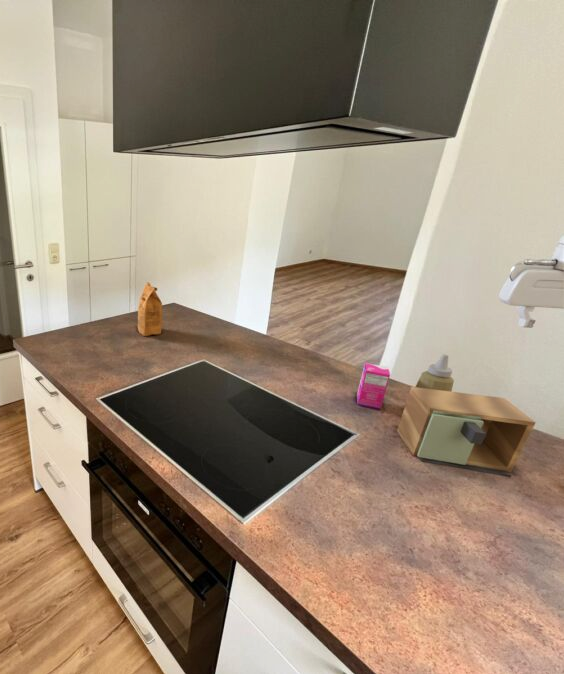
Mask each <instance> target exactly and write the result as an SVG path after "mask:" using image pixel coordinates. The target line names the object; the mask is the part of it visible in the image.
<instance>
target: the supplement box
mask: <svg viewBox="0 0 564 674" xmlns="http://www.w3.org/2000/svg"><path fill="white" fill-rule="evenodd" d="M363 365H364V366H363V369H362V374H361V377H360V381H359V386H358V389H357V393H356V402H357V403H356V404H357V406H360V407H364V408H368V409H373V410H377V411H381V410H382V406H383V403H384V399H385V395H386V392H387V389H388V384H389V381H390V378H391V373H390V368H389V366H387V365H379V364H374V363H368V362H365V363H364V364H363Z"/></svg>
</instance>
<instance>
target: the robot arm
mask: <svg viewBox="0 0 564 674" xmlns="http://www.w3.org/2000/svg"><path fill="white" fill-rule="evenodd" d="M498 299H499V301H500V302H502V303H504V304H505V305H509V306H516V311H517V313H518V316H519V317H520V318H519V321H518V323H517V325H518V327H521V328H528V329H531V328H534V325H535V323H536V319H534V318H531V315H530V313H532V312H534V310H535V308H545V309H547V308H548V309H560V310H561V309H562V310H564V234H563V235H562V236H561V237H560V239H559V240H558V241H557V244H556V246H555V249H554V251H553V253H552V256H551V257H550V259H548V258H547V259H544V258H543V259H535V258H527V259H526V258H525V259H523V260H521V261H518V262H517V263H515V264H514V265H513V266H512V267H511V269H510V272H509V276H508V277H507V279H506V280H505V282H504V284H503V285H502V288H501V290H500V292H499V293H498Z"/></svg>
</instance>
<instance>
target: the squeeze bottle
mask: <svg viewBox="0 0 564 674" xmlns="http://www.w3.org/2000/svg"><path fill="white" fill-rule="evenodd" d="M452 374H453V370H452V368H450V367H449V355H448V354H445V353H444V354H443V353H442V355H441V356H440V357H439V359H438V360H437V362H435V364H434V363H433V364H429V366H428V368H427V370H426V371H424V372H421V374H420V377H419V378H418V381H417V382H416V384H415V386H414V387H417V388H425V389H434V390H442V391H450V392H453V387H454V382H455V380H454V378H453V377H451V376H452Z"/></svg>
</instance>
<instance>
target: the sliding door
mask: <svg viewBox="0 0 564 674" xmlns="http://www.w3.org/2000/svg"><path fill="white" fill-rule="evenodd" d="M483 423H484V422H483V421H480V420H473V419H466V418H459V417H451V416H444V415H437V414H432V416H431V419H430V421H429V424H428V427H427V430H426V432H425V435H424V438H423V441H422V443H421V446H420V449H419V451H418V454H417V456H416V457H417V458H420V457H421V458H427V459H433V460H439V461H445V462H451V463H457V464H463V465H465V464H466V462H467V460H468V458H469V455H470V453H471V451H472V448H473V446H474V444H479V445H481V444H482V442H483V440H484V438H485V435H486V433H485V432H484V431H483V430H482V429H481V428H482V425H483Z"/></svg>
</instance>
